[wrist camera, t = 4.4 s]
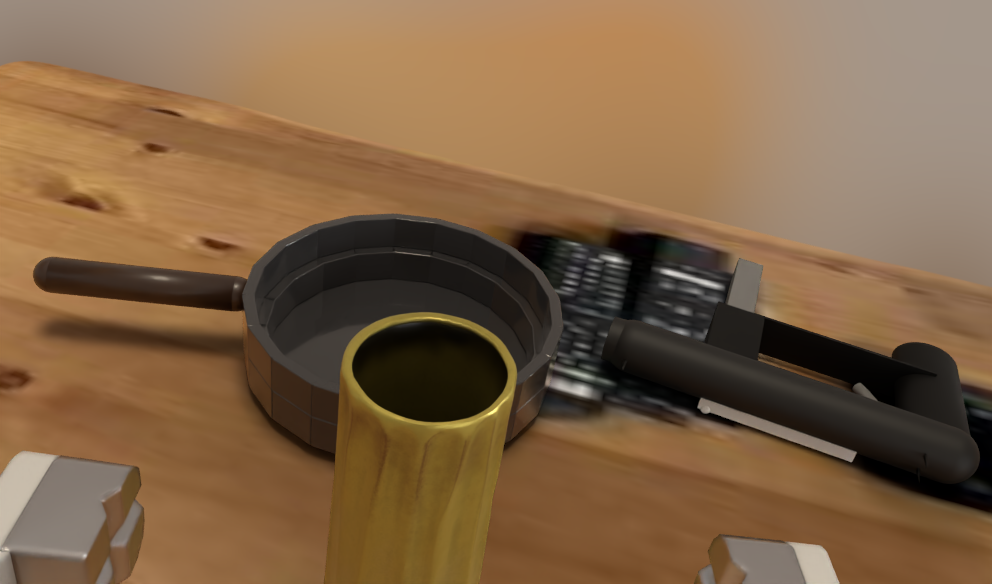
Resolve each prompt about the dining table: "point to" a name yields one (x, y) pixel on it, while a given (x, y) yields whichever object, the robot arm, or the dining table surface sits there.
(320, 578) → the dining table surface
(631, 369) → the gun
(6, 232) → the dining table surface
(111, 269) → the pan handle
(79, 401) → the dining table surface
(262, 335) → the pan
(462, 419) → the vase
